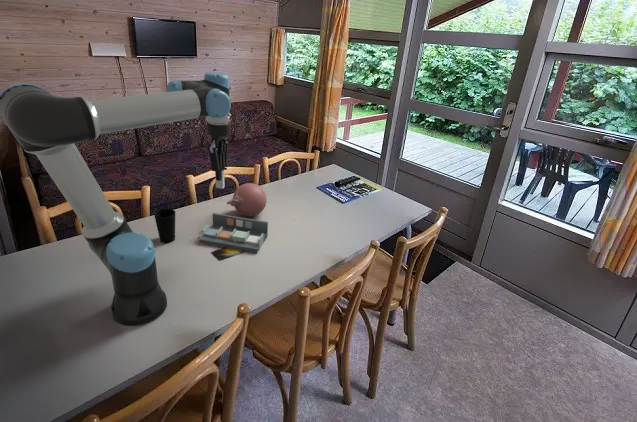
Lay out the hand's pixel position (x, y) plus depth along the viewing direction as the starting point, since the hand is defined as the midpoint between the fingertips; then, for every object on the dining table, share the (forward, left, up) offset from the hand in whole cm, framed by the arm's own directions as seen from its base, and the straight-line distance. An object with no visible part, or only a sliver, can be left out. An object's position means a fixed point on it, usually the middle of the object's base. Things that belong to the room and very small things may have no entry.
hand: (220, 187), depth 131 cm
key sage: (+6, -5, -24) cm, 26 cm away
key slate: (+7, +7, -26) cm, 27 cm away
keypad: (+8, -2, -26) cm, 28 cm away
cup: (0, +23, -27) cm, 35 cm away
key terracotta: (+7, +1, -26) cm, 26 cm away
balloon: (+30, +1, -27) cm, 40 cm away
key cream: (+7, -11, -26) cm, 28 cm away
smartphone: (0, -4, -27) cm, 27 cm away
